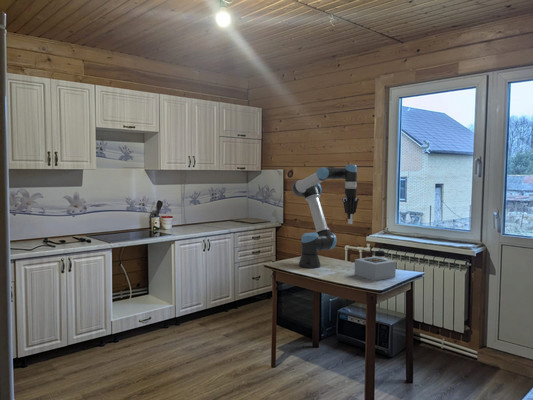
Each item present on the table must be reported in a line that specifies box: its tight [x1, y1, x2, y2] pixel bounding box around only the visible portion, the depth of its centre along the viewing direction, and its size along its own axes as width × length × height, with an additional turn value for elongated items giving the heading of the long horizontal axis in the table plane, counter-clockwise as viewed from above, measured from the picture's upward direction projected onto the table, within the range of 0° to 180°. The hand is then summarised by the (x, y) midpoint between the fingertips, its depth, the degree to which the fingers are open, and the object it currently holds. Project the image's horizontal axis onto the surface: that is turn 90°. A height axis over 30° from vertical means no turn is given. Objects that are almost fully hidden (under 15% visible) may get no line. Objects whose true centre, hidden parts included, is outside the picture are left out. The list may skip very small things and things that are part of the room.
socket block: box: [354, 256, 397, 282], centre depth 271 cm, size 18×18×10 cm
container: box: [374, 249, 389, 260], centre depth 289 cm, size 8×8×13 cm
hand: (350, 223), depth 279 cm, fingers closed
